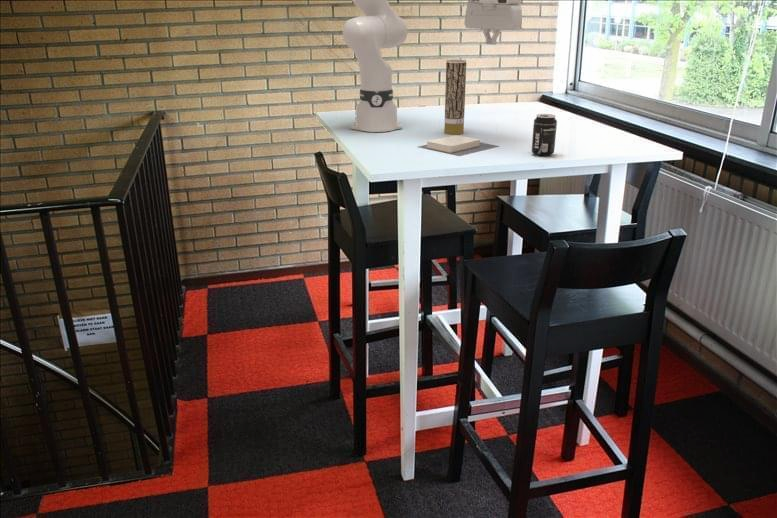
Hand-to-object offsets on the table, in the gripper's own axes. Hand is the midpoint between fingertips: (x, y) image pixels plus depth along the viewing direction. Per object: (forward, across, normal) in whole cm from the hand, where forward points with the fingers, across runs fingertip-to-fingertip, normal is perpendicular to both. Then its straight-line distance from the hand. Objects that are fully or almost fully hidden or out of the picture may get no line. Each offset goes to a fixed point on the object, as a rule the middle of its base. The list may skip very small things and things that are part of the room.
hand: (490, 44), depth 210 cm
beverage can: (+31, +24, -2) cm, 40 cm away
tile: (+29, 0, -9) cm, 31 cm away
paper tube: (+31, -16, +2) cm, 35 cm away
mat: (+31, 0, -14) cm, 34 cm away
